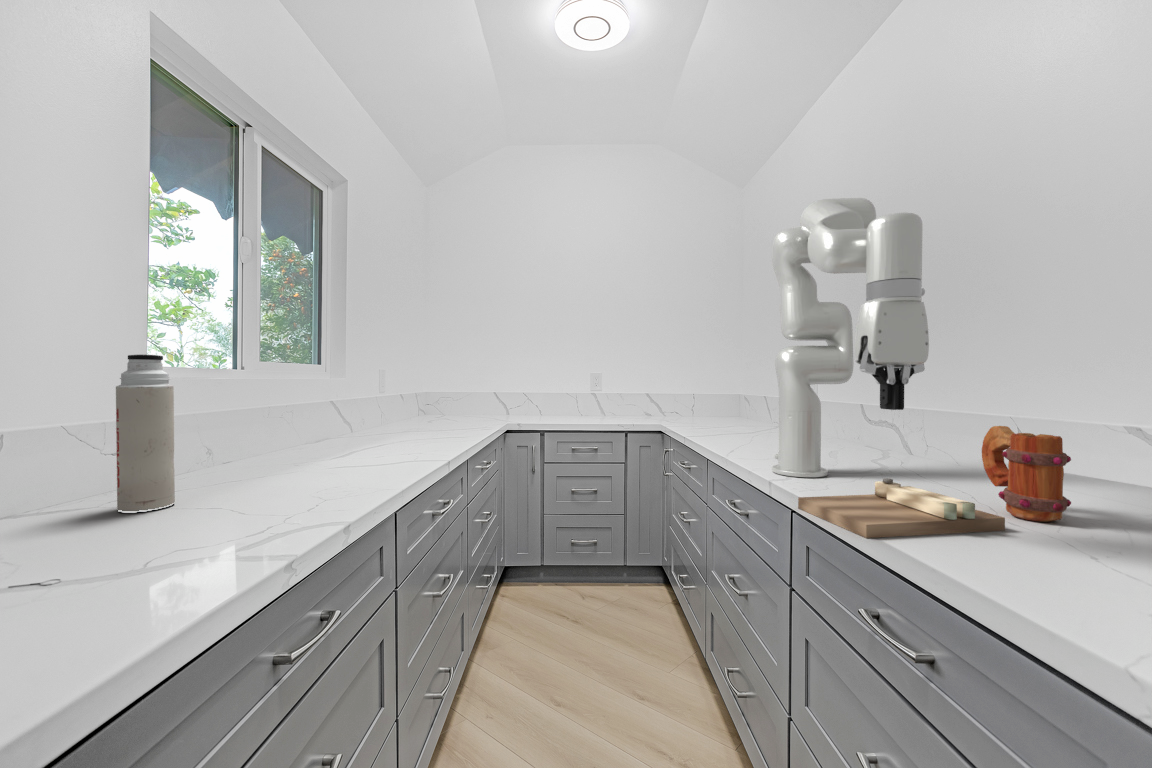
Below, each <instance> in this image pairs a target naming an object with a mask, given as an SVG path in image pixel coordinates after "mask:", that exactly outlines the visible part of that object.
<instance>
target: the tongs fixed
mask: <svg viewBox="0 0 1152 768" xmlns="http://www.w3.org/2000/svg"><path fill="white" fill-rule="evenodd" d="M882 481H883V483H893V482H894V479H892V478H886V477H884V478H882ZM901 488H902V489H906V490H909V491H913V492H916V493H920V494H923V495H927V496H930V497H934V498H937V499H940V500H944V501H947V502H951V503H954V504H957V516H959V517H962V518H967V519H975V510H976V503H974V502H971V501H967V500H963V499H958V498H956V497H953V496H947V495H944V494H940V493H937V492H933V491H929V490H926V489H922V488H918V487H914V486H910V485H909V486H908V485H906V486H901Z"/></svg>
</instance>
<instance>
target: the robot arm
mask: <svg viewBox="0 0 1152 768" xmlns="http://www.w3.org/2000/svg"><path fill="white" fill-rule="evenodd" d="M799 221H800V227H791V228H786V229H784V230H781V231H779V232H778V233H777V234H776V235H775V237H774V238H773V241H772V246H771V261H772V266H773V271H774V273H775V276H776V279H777V281H778V286H779V305H780V307H779V308H780V310H779V311H780V328H781V333H782V336H783V337H784V338H785V339H786V340H790V341H798V342H800V341H803V342H804V341H805V342H807V341H811V342H812V341H816V342H817V341H825V342H826V345H791V346H787V347H784V348H782V349H780V350H779V351H778V353H777V354H776V357H775V360H774V363H775V364H774V365H775V374H776V378H777V387H778V416H779V417H778V452H777V453H776V454H775V455H774V459H775V460H777V461H778V462H777V464H774V465H773V466H772V467H771V468H772V469H771V471H772V472H774V474H778V475H781V476H787V477H796V478H822V477H827V476H828V472H829V470H828V469H826V468H824V467H821V465H822V462H821V461H822V460H821V458H822V457H821V456H822V455H821V454H822V453H821V452H822V449H821V447H822V445H821V444H822V443H821V441H822V403H821V400H820V397H819V396H818V395H817V392H815V391H814V389H813V388H812V385H841V384H845V383H847V382H849V380H850V379H852V376H853V373H854V362H855V363H857V364H858V365H859V371H860V372H861V373H865V374H869V375H871V376H872V377H873V378H874V380H875V383H876V384H877V385H879V408H880V409H881V410H891V411H896V410H897V411H898V410H899V411H900V410H901V411H903V410H904V409H905V385H908V384H909V382H910V379H911V378H912V376H913V375H915V374H919V373H922V372H924V371H926V370H925V369H926V368H925V363H926V362H927V360H928V358H929V349H930V348H929V347H930V343H929V341H930V339H929V338H930V337H929V335H930V334H929V325H928V317H927V310H926V306H925V303H924V301H922V297H923V296H924V295H925V293H926V290H925V289H924V288H923V287H922V286H923V285H922V283H923V282H922V281H923V279H922V278H923V277H922V276H923V220H922V218H921V216H920V215H918V214H916V213H912V212H895V213H889V214H884V215H882V216H879V217H877V210H876V207H875V205H874V203H872V201H870V200H869V199H867V198H863V197H849V198H842V197H841V198H825V199H819V200H816V201H813V202H812V203H810V204H809V205H807V206H806V207H805V208H804V209H803V211H802V213H801V215H800V219H799ZM802 264H812V265H814V266H815V267H816V268H817V269H818V270H820V271H821V272H824V273H825V274H826V273H827V274H865V282H866V283H865V303H862V304H861V305H860V308H859V311H858V316H857V320H856V327H855V336H853V335H854V333H853V331H854V330H853V318H852V314H851V311H850V309H849V307H848V306H847V305H845V303H841V302H840V301H839V302H838V301H819V299H818V283H817V281H816V279H815V278H814V276H813V275H812V273H810V271H809V270H808V269H807V268H806V267H805V266H804V265H802ZM854 337H855V338H854Z"/></svg>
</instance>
